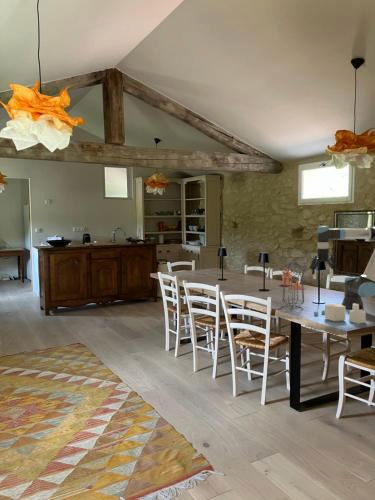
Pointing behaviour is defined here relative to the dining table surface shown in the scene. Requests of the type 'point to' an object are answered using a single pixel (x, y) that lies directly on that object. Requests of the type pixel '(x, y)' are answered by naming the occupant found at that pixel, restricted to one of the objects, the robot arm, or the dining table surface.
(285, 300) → the geometric lantern
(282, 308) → the dining table surface
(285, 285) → the ceramic vessels
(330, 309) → the cream cube
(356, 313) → the medicine bottle
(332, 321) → the coaster
